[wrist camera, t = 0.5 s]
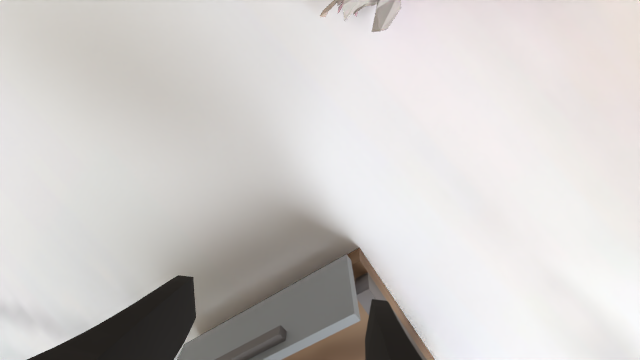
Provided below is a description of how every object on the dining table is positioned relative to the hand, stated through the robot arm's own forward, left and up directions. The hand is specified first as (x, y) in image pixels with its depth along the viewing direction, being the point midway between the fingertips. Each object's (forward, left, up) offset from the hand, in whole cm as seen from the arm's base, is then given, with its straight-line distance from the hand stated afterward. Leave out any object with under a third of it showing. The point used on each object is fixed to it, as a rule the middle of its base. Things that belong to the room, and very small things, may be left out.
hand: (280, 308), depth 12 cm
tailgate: (-7, 0, -8) cm, 11 cm away
